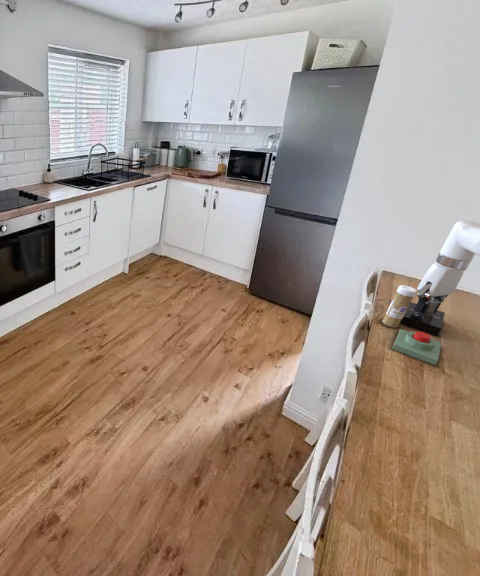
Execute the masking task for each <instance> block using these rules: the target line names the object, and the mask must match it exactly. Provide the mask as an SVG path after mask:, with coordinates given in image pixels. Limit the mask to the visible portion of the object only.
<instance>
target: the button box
mask: <svg viewBox="0 0 480 576" xmlns="http://www.w3.org/2000/svg"><path fill="white" fill-rule="evenodd" d="M415 332H416V331H408V330H406V329H402V328H400V329H399V332H398V333H397V336H396V339H395V341H394V343H393V345H392V350H394V351H397V352H399V353H402V354H405V355H407V356H410V357H413V358H415V359H417V360H420V361H423V362H424V363H425V362H426V363H428V364H431V365H434V366H436V365H437V363H438V361H439V358H440V352H441V349H442V342H440V341H437V340H434V339H433V338H431V339H430V340H429V342H428V343H423V342H420V341H417V340H416V339H414V338H413V336H414V334H415Z"/></svg>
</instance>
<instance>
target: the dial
mask: <svg viewBox="0 0 480 576" xmlns="http://www.w3.org/2000/svg"><path fill="white" fill-rule="evenodd" d="M425 297H427V299H428V298H429V296H427V295H425ZM438 304H439V300H437V299H435V298H433V299H432V300H431V302H430V303H429V305H430V306H429V308H428V310H427V311H426V313H425V315H422V316H425V317H431V316H432V315H433V313H434V311H435V309H436V307H437V306H438ZM418 314H419V313H418ZM420 315H421V314H420Z"/></svg>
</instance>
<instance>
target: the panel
mask: <svg viewBox="0 0 480 576" xmlns="http://www.w3.org/2000/svg"><path fill="white" fill-rule="evenodd" d="M416 305H417V303H415V302H412V301H411V302H410V304H409V306H408V308H407V311H406V313H405V314H404V316H403V318H402V320H401V322H400V323H399V325H402V326H406V327H408V328H411V329H413V330H417V331H420V332H424V333H426V334H428V335H430V336H435V337H438V335H439V333H440V332H441V330H442V327H443V324H444V323H443V322H444V318H445V314H446V312H445V311H441V310H439V309H438V310H437V312H436V313H434V314H433V315H432V316H431V317H425V316H422V315H420V314H418V313H417V312H415V311H414V308H415V306H416Z"/></svg>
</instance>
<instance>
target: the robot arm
mask: <svg viewBox="0 0 480 576" xmlns="http://www.w3.org/2000/svg"><path fill="white" fill-rule="evenodd" d="M475 256H478V257H480V222H477V221H473V220H459V221H456V222H455V223H454V225H453V227H452V228H451V230H450V231H449V234H448V236H447V238H446V239H445V242H444V243H443V246H442V247H441V249H440V251H439V253H438V255H437V257H436V259H435V260H434V263H433V264H432V265H431V266H430V267H429V269H428V270H427V271H426V272H425V274H424V276H423V278H422V279H421V281H420V282H419V284H418V286H417V288H416V290H417V292H416V297H418V299H417V302H416V304H417V305H416V306H415V308H414V311H415V312H417V313H419V314H421V315H425V313H426V311H427V310H428V308H429V306H430V305H429V303H430V302H431V300H432V299H433V298H435V299H437V300H439V304H438V306H437V307H436V309H435V311H434V313H436V312H437V310H438V311H439V308H440V306H441V304H442V303H443V302H444V301H445V299H446V298H447V297H448V296H450V295H452V294H454V292H455V290H456V289H457V288H458V285H459V283H460V282H461V280H462V277H463V275H464V272H466V271H467V269H468V267H469V266H470V264H471V262H472V261H473V259H474V257H475ZM425 296H426V297H425ZM427 297H429V298H428V299H427ZM434 313H433V314H434Z"/></svg>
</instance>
